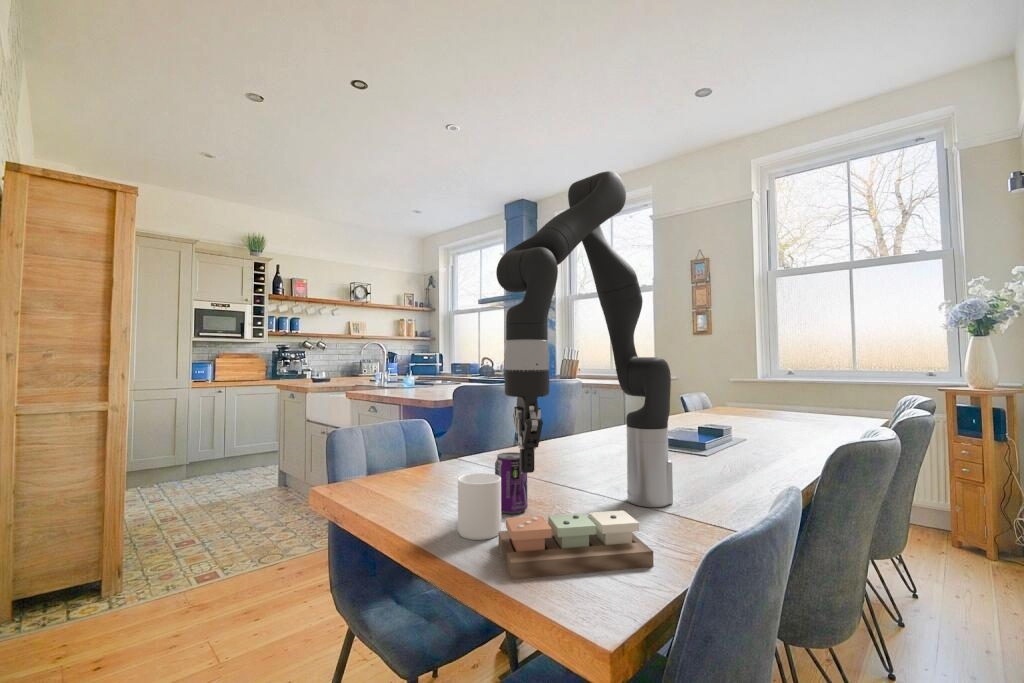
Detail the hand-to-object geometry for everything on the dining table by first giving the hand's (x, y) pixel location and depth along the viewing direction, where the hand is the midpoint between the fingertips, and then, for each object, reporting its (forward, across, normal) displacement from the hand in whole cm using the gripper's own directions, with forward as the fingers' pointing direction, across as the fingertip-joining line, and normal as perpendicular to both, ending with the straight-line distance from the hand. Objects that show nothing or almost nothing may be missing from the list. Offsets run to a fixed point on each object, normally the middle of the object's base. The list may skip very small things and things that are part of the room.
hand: (527, 471), depth 78 cm
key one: (+12, 0, -15) cm, 20 cm away
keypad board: (+14, 0, -8) cm, 16 cm away
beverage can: (+14, +25, -2) cm, 29 cm away
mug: (+14, +15, +6) cm, 22 cm away
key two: (+12, 0, -8) cm, 15 cm away
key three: (+12, 0, 0) cm, 12 cm away
